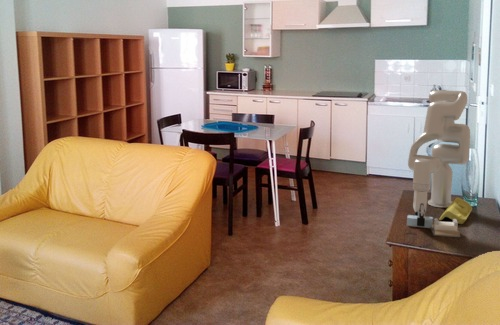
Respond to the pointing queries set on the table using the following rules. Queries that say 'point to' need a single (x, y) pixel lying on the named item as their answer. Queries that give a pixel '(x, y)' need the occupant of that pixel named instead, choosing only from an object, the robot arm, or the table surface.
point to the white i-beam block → (445, 225)
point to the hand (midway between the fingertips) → (419, 222)
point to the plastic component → (457, 211)
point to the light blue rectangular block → (413, 220)
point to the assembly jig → (445, 232)
